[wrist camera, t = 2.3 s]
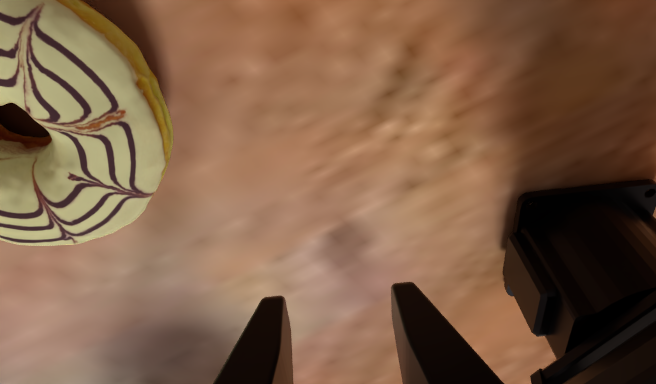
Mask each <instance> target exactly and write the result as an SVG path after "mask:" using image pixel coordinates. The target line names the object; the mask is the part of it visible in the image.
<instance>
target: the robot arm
mask: <svg viewBox="0 0 656 384" xmlns="http://www.w3.org/2000/svg"><path fill="white" fill-rule="evenodd" d="M649 189H650V190H649ZM647 190H649V191H647ZM646 191H647V192H646ZM531 201H533V203H531V204H529V205H527V204H528V203H529V202H531ZM655 207H656V182H655V181H653V180H649V179H648V180H638V181H629V182H619V183H610V184H601V185H591V186H582V187H572V188H563V189H553V190H544V191H534V192H528V193H525V194H523V195H522V196H521V197H520V198H519V200H518V203H517V209H516V215H515V221H514V228H513V233H511V234H510V236H509V237H508V241H507V248H506V254H505V261H504V267H503V275H504V277H505V284H504V287H505V289H506V292H507V293H508V295H510V296H514V297H515V299H516V301H517V303H518V305H519V307H520V309H521V311H522V313H523V315H524V318H525V320H526V322H527V324H528V326H529V328H530V330H531V332H532V333H533V334H535V335H536V336H538V337H539V336H545V337H546V339H547V341H548V343H549V345H550V347H551V349H552V351H553V353H554V355H555V357H556V359H557V360H555V361H554V362H553V363H551V364H550V365H548V366H547V367H546V368H544V369H539V370H537V371H536V372H535V373H533V374H532V375H531V376H530V378H531V383H532V384H656V219H655V218H654V217H653V213H654V210H655ZM391 303H392V321H393V328H394V334H395V340H396V346H397V352H398V358H399V364H400V370H401V376H402V382H403V384H504V383H503V382H502V381H501V380H500V379H499V378H498V376H497V375H496V374H495V373H494V372H493V371H492V370H491V369H490V368H489V366H488V365H487V364H486V363H485V362H484V361H483V360H482V359H481V357H480V356H479V355H478V354H477V353H476V352H475V351H474V350H473V349H472V347H471V346H470V345H469V344H468V343H467V342H466V341H465V340H464V338H463V337H462V336H461V335H460V334H459V333H458V332H457V331H456V330H455V328H454V327H453V326H452V325H451V324H450V323H449V322H448V321H447V319H446V318H445V317H444V316H443V315H442V314H441V313H440V312H439V311H438V309H437V308H436V307H435V306H434V305H433V304H432V303H431V302H430V301H429V299H428V298H427V297H426V296H425V295H424V294H423V293H422V292H421V290H420V289H419V288H418V287H417V286H416V285H415V284H414V283H412V282H403V283H395V284H393V285H392V287H391ZM213 384H293V365H292V343H291V328H290V322H289V317H288V312H287V307H286V302H285V298H284V297H283V296H272V297H265V298H263V299H262V300H261V302H260V303H259V305H258V307H257V308H256V310H255V312H254V314H253V315H252V317H251V319H250V321H249V322H248V324H247V326H246V328H245V329H244V331H243V333H242V335H241V336H240V338H239V340H238V341H237V343H236V345H235V347H234V348H233V350H232V352H231V354H230V355H229V357H228V359H227V361H226V362H225V364H224V366H223V367H222V369H221V371H220V373H219V374H218V376H217V378H216V380H215V381H214V383H213Z"/></svg>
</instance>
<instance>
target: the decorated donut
mask: <svg viewBox="0 0 656 384" xmlns="http://www.w3.org/2000/svg"><path fill="white" fill-rule="evenodd" d="M7 103H15V104H16V105H18V106H19V107H21V108H22V109H23V110H25V111H26V112H27V113H28V114H29V115H30V116H31V117H32V119H34V120H35V121H36V122H37V123H38V124H40V125H41V126H43V127H44V128H45V129H46V130H47V131H48V132H49V133H50V135H49V136H47V137H41V138H39V137H35V138H33V137H30V136H22V135H19V134H16V133H13V132H11V131H9V130H7V129H6V128H4V127H3V126H2V125H1V124H0V240H2V241H5V242H9V243H12V244H17V245H30V246H56V245H73V244H80V243H84V242H86V241H89V240H91V239H95V238H100V237H103V236H105V235H108V234H111V233H114V232H115V231H117V230H119V229H120V228H122V227H123V226H126V225H128V224H130V223H132V222H133V221H134V220H135V219H137V218H138V217H139V216H140V215H141V213H142V212H143V211H144V210H145V209H146V207H147V204H148V202H149V200H150V199H151V197H152V196H153V194H154V193H155V191H156V190H157V188H158V185H159V184H160V182H161V180H162V178H163V175H164V173H165V171H166V168H167V166H168V162H169V159H170V154H171V150H172V145H173V127H172V122H171V117H170V114H169V111H168V109H167V106H166V103H165V100H164V98H163V96H162V93H161V91H160V88H159V84H158V81H157V78H156V77H155V76H154V74H153V73H152V71H151V70H150V68H149V67H148V65H147V63H146V61H145V59H144V57H143V55H142V53H141V51H140V50H139V48H138V46H137V45H136V44H135V43H134V42H133V41H132V40H131V39H130V38H129V37H128V36H127V35H126V34H124V33H123V32H122V31H121V30H120V29H119V28H118V27H117V26H116V25H115V24H113V23H112V22H111V21H109V20H108V19H107V18H105V17H104V16H103V15H102V14H100V13H99V12H98V11H96V10H95V9H93V8H92V7H91V6H89V5H88V4H87V3H85V2H84V1H82V0H0V106H2V105H5V104H7Z"/></svg>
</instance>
